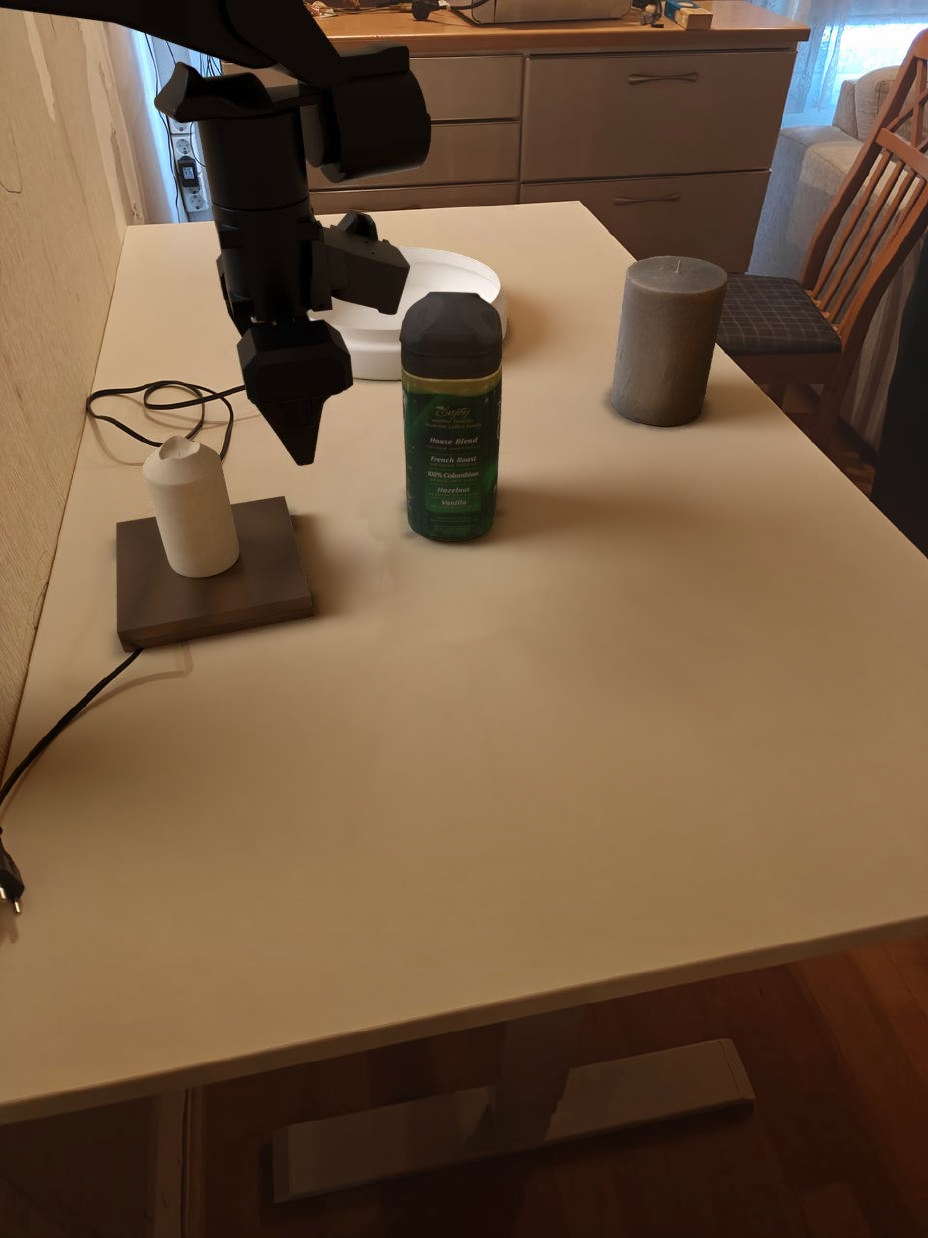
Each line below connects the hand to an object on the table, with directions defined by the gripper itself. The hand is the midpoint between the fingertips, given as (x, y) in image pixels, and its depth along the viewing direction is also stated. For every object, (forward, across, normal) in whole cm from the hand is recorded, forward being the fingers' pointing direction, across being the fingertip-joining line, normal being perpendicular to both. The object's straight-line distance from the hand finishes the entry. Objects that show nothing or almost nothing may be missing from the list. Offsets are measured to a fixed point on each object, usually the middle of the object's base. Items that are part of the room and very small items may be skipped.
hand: (295, 430), depth 62 cm
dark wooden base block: (+13, +2, +8) cm, 15 cm away
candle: (+11, +2, +8) cm, 14 cm away
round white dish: (+13, +44, -17) cm, 49 cm away
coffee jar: (+13, +5, -13) cm, 19 cm away
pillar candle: (+13, +18, -39) cm, 45 cm away
